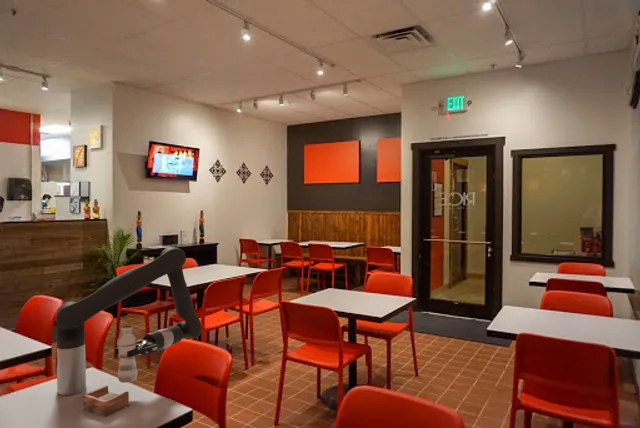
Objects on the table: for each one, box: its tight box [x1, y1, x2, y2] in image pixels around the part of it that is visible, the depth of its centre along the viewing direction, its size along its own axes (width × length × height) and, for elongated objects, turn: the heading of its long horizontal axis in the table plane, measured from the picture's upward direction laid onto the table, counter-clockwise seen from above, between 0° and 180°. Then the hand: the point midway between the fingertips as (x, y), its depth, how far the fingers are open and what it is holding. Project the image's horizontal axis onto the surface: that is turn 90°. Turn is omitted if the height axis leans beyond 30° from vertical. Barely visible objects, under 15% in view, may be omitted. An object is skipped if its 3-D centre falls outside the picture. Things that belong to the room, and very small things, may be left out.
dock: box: [82, 384, 130, 418], centre depth 151 cm, size 12×9×5 cm
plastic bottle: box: [116, 324, 138, 384], centre depth 159 cm, size 6×7×20 cm
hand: (121, 353), depth 157 cm, fingers closed on plastic bottle, 6 cm apart
